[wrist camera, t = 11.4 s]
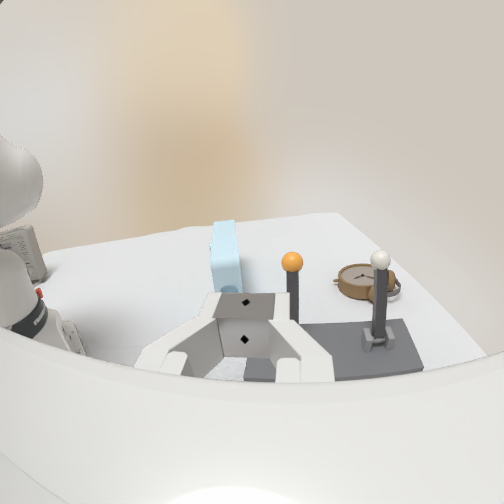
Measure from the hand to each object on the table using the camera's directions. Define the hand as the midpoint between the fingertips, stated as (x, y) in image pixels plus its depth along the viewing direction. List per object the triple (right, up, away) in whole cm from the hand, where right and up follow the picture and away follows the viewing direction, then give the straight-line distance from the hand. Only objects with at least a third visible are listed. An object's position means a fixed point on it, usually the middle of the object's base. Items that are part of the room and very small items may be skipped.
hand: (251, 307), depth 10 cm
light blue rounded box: (-5, -7, +52) cm, 53 cm away
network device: (-81, -9, +62) cm, 102 cm away
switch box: (+11, -17, +25) cm, 32 cm away
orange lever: (+5, -9, +22) cm, 25 cm away
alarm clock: (+26, -7, +47) cm, 54 cm away
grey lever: (+16, -9, +21) cm, 28 cm away
